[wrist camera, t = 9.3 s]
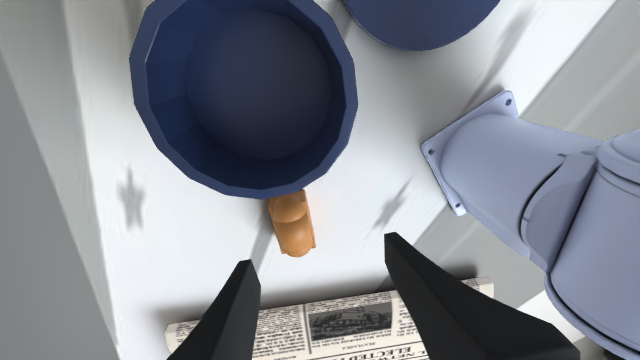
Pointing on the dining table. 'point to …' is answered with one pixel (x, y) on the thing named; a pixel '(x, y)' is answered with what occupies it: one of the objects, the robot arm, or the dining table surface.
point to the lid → (418, 20)
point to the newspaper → (336, 329)
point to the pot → (244, 91)
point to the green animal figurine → (612, 356)
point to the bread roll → (292, 223)
